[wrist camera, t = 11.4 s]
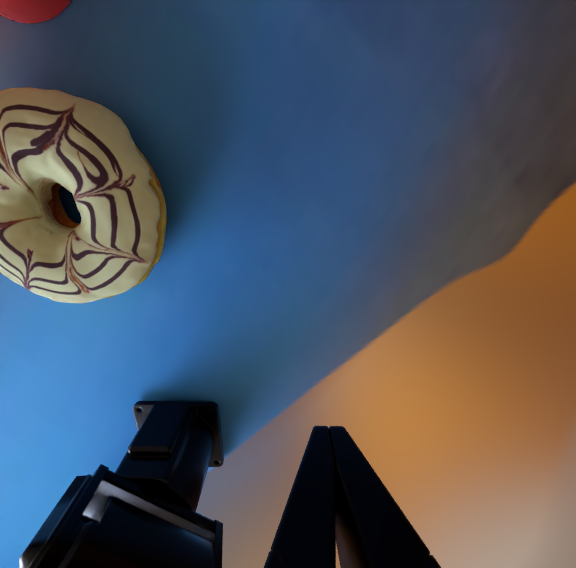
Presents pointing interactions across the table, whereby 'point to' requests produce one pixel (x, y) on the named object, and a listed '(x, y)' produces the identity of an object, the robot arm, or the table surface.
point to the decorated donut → (87, 194)
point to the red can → (32, 10)
